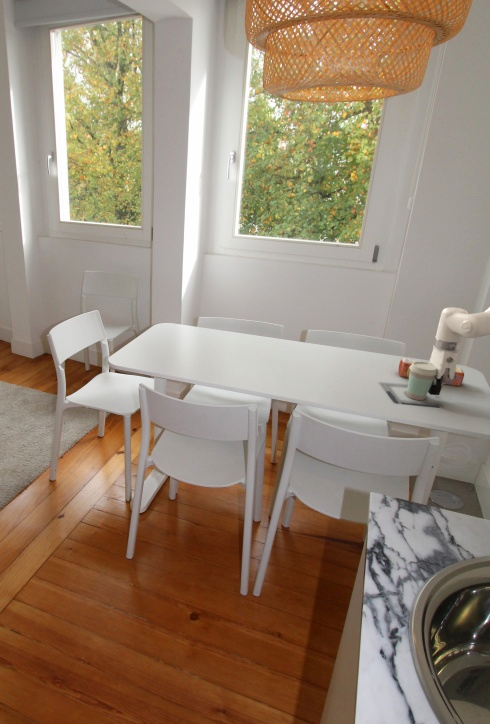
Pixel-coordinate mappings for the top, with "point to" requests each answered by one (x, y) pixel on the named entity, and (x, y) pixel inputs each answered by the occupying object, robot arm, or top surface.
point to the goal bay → (409, 403)
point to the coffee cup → (420, 379)
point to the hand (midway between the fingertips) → (433, 393)
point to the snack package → (456, 381)
